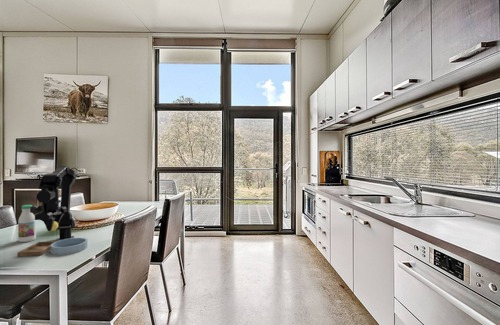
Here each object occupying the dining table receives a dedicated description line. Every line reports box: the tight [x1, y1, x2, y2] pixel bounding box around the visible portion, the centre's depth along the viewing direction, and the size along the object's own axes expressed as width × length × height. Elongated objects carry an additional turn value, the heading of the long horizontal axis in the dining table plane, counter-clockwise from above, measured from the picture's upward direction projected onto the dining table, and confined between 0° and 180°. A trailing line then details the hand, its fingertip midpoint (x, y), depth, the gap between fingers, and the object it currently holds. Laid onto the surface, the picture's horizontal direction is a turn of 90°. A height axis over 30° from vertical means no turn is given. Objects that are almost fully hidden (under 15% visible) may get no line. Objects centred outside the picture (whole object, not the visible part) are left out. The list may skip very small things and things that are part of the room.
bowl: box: [50, 237, 88, 256], centre depth 137 cm, size 16×16×4 cm
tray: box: [16, 240, 58, 258], centre depth 135 cm, size 16×10×2 cm, turn 8°
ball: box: [50, 221, 58, 232], centre depth 136 cm, size 5×5×5 cm
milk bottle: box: [17, 204, 37, 243], centre depth 152 cm, size 8×8×20 cm
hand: (52, 229), depth 136 cm, fingers closed on ball, 5 cm apart
